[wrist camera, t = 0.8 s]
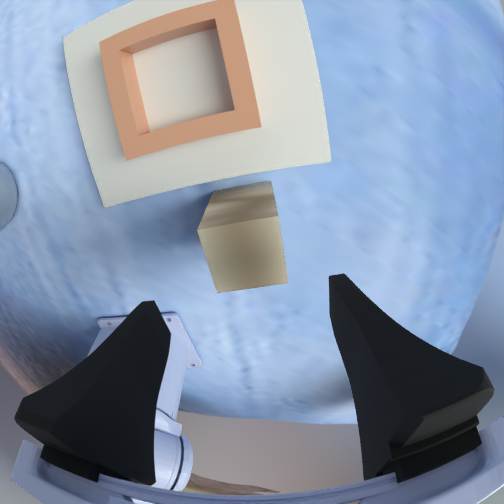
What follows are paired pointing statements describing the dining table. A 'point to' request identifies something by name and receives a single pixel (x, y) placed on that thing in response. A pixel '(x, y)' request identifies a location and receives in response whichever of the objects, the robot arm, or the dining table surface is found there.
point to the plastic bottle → (7, 196)
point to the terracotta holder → (162, 30)
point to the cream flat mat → (201, 98)
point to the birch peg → (243, 238)
